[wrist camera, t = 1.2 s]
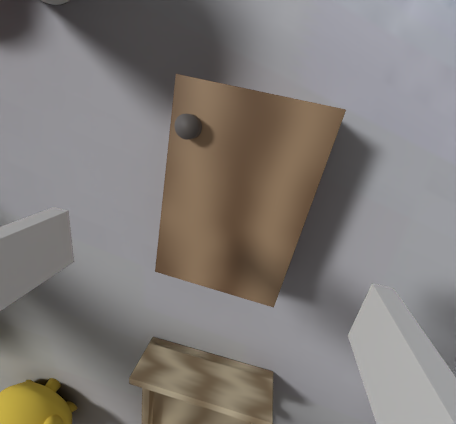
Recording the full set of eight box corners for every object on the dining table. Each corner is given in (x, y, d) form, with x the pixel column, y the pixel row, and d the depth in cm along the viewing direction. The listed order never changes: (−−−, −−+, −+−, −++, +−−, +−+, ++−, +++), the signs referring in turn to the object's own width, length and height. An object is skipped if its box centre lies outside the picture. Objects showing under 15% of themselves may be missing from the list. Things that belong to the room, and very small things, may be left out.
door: (176, 245, 26) (149, 278, 21) (198, 85, 20) (169, 70, 15) (274, 273, 25) (273, 316, 20) (329, 113, 19) (350, 108, 13)
